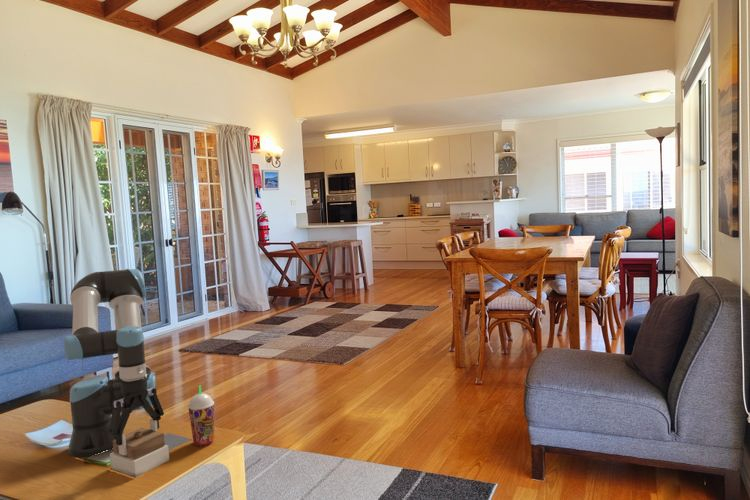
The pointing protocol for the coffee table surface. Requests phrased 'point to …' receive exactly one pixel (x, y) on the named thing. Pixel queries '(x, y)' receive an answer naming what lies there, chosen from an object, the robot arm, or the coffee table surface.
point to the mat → (174, 440)
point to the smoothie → (202, 418)
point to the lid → (141, 443)
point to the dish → (139, 462)
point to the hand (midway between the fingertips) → (139, 446)
